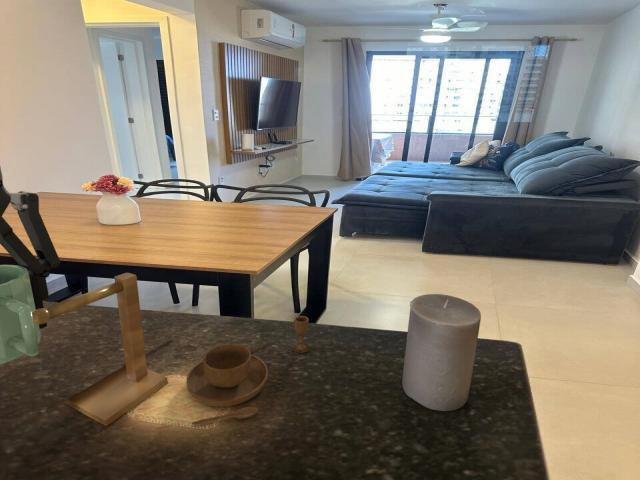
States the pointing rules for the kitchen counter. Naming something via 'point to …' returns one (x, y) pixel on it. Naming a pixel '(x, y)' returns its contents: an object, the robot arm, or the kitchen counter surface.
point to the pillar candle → (440, 351)
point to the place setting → (234, 375)
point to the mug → (17, 315)
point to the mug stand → (134, 378)
